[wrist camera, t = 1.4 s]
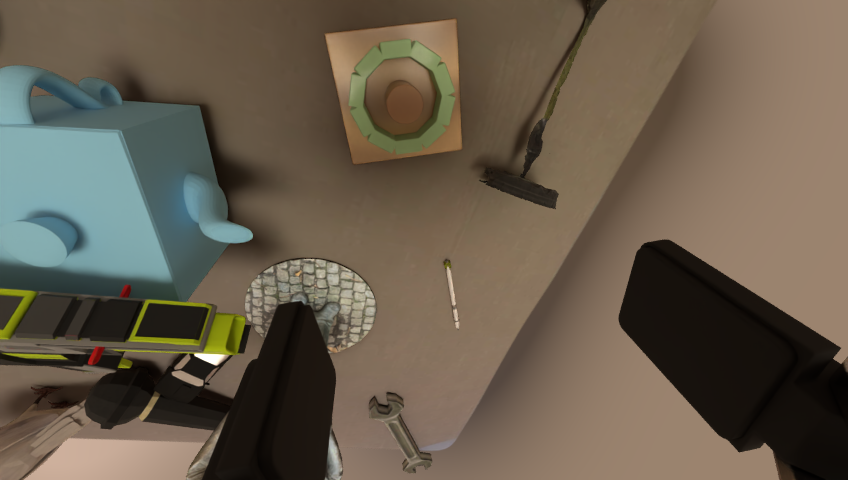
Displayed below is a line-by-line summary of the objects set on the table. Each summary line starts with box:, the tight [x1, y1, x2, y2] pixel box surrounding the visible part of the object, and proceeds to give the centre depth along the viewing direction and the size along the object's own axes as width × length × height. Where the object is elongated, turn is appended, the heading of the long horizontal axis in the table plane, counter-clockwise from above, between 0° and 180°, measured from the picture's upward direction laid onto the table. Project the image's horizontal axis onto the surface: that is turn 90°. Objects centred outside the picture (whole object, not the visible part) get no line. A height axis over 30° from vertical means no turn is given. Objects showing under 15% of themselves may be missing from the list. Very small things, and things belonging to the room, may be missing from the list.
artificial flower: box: [479, 0, 607, 209], centre depth 22 cm, size 9×22×10 cm, turn 161°
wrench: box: [369, 393, 432, 473], centre depth 47 cm, size 5×2×20 cm
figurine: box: [186, 259, 376, 480], centre depth 26 cm, size 13×13×25 cm
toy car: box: [153, 353, 233, 403], centre depth 33 cm, size 10×4×3 cm, turn 133°
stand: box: [325, 18, 462, 165], centre depth 23 cm, size 9×9×5 cm
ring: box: [348, 39, 455, 155], centre depth 23 cm, size 7×7×2 cm
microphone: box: [84, 367, 231, 430], centre depth 37 cm, size 6×6×20 cm
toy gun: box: [0, 285, 251, 374], centre depth 21 cm, size 20×4×15 cm
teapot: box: [0, 65, 253, 302], centre depth 21 cm, size 16×18×11 cm
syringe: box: [444, 260, 459, 328], centre depth 36 cm, size 10×1×1 cm
